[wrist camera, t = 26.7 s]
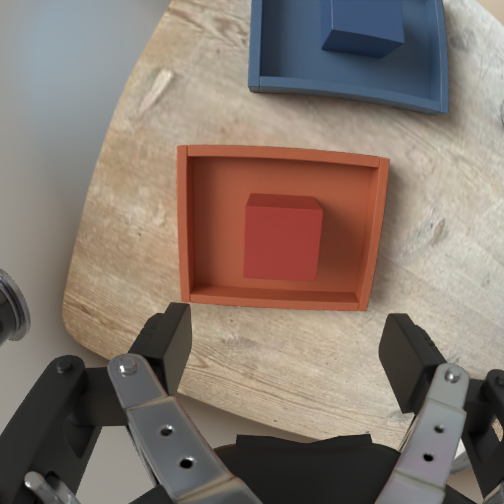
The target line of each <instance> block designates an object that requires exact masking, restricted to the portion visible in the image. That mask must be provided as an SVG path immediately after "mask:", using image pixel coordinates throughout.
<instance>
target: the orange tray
mask: <svg viewBox="0 0 504 504" xmlns="http://www.w3.org/2000/svg"><path fill="white" fill-rule="evenodd" d="M389 161H390V159H388V158H383V157H378V156H371V155H363V154H354V153H345V152H336V151H325V150H314V149H301V148H286V147H268V146H242V145H182V146H177V220H178V249H179V270H180V287H181V301H182V302H191V303H203V304H216V305H230V306H246V307H263V308H282V309H305V310H336V311H367V306H368V302H369V297H370V292H371V287H372V282H373V277H374V272H375V266H376V261H377V255H378V249H379V243H380V236H381V230H382V223H383V216H384V208H385V200H386V191H387V182H388V172H389ZM250 193H258V194H278V195H296V196H311V197H314V198H315V200H316V201H317V202H318V204H319V205H320V207H321V208H322V209H323V222H322V232H321V242H320V251H319V260H318V269H317V277H316V281H315V282H313V281H291V280H271V279H252V278H243V259H244V223H245V206H246V203H247V200H248V198H249V195H250Z"/></svg>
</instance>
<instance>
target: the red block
mask: <svg viewBox="0 0 504 504" xmlns="http://www.w3.org/2000/svg"><path fill="white" fill-rule="evenodd" d="M322 222H323V209H322V208H321V207H320V205H319V204H318V202H317V201H316V200H315V198H314V197H311V196H296V195H278V194H258V193H250V195H249V198H248V200H247V203H246V206H245V223H244V259H243V278H252V279H271V280H291V281H313V282H315V281H316V277H317V269H318V260H319V251H320V242H321V232H322Z"/></svg>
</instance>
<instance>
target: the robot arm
mask: <svg viewBox="0 0 504 504" xmlns="http://www.w3.org/2000/svg"><path fill="white" fill-rule="evenodd" d="M19 327H20V318H19V313H18V310H17V307H16V305H15V302H14V300H13V299H12V297H11V295H10V294H9V292H8V291H7V290H6V288H5V287H4V286H3V285H2V284H1V283H0V347H1V346H2V345H3V343H5V342H6V341H7V340H8V339H9V338H10V337H11V336H13V335H14V334H15V333H16V332H17V331H18V330H19ZM191 347H192V325H191V308H190V304H186V303H175V302H171V303H170V304H169V306H168V308H167V309H166V311H165V313H164V314H163V313H157V314H155V315H154V316H152V317H151V318H149V319H148V320H147V322H146V324H145V325H144V328H143V329H142V330H141V332H140V334H139V335H138V337H137V338H136V340H135V342H134V343H133V345H132V346H131V348H130V350H129V351H128V353H127V354H122V355H119V356H116V357H115V358H113V359H112V360H111V361H110V362H109V364H108V366H107V367H102V368H85V365H84V362H83V360H82V359H81V358H79V357H77V356H72V355H65V356H61V357H58V358H56V359H54V360H53V361H52V362H51V363H50V364H49V365H48V366H47V368H46V369H45V370H44V372H43V373H42V375H41V376H40V377H39V379H38V380H37V382H36V383H35V384H34V386H33V387H32V389H31V390H30V392H29V393H28V394H27V396H26V397H25V399H24V400H23V402H22V403H21V405H20V406H19V408H18V409H17V411H16V412H15V414H14V415H13V417H12V419H11V420H10V421H9V423H8V424H7V426H6V428H5V429H4V431H3V432H2V434H1V436H0V504H81V503H80V502H79V500H78V499H77V498H76V497H75V495H76V493H77V490H78V487H79V485H80V482H81V479H82V477H83V474H84V471H85V469H86V466H87V464H88V461H89V459H90V456H91V454H92V451H93V449H94V446H95V444H96V441H97V439H98V437H99V434H100V432H101V429H102V427H103V426H125V427H126V430H127V432H128V434H129V436H130V439H131V440H132V443H133V445H134V447H135V449H136V451H137V453H138V455H139V457H140V459H141V461H142V463H143V465H144V468H145V470H146V472H147V474H148V476H149V478H150V480H151V482H152V484H153V486H154V488H153V489H151V490H150V491H148V492H146V493H145V494H143V495H142V496H140V497H139V498H137V499H136V500H134V501H132V502H131V503H129V504H477V503H475V502H474V501H472V500H470V499H469V498H467V497H465V496H464V495H463V494H461V493H459V492H458V491H456V490H455V489H453V488H452V487H450V486H449V485H447V484H446V482H447V479H448V477H449V474H450V471H451V468H452V465H453V462H454V459H455V456H456V452H457V449H458V446H459V442H460V439H461V440H462V443H463V445H464V447H465V450H466V452H467V455H468V458H469V460H470V463H471V465H472V468H473V470H474V473H475V476H476V478H477V481H478V484H479V487H480V490H481V493H482V496H483V499H484V501H483V504H504V371H503V370H499V369H494V370H490V371H489V372H488V374H487V376H486V378H485V380H478V379H470V378H469V375H468V373H467V372H466V370H464V369H463V368H462V367H460V366H458V365H456V364H451V363H447V362H446V360H445V359H444V357H443V356H442V354H441V353H440V351H439V350H438V348H437V347H436V346H435V344H434V343H433V341H432V340H431V338H430V337H429V335H428V334H427V333H426V331H425V330H423V329H422V328H421V327H419V326H418V325H415V324H414V323H413V322H412V320H411V319H410V317H409V316H408V315H407V314H406V313H390V314H389V315H388V316H387V319H386V323H385V326H384V330H383V334H382V337H381V341H380V344H379V359H380V361H381V364H382V366H383V368H384V370H385V373H386V375H387V377H388V380H389V382H390V385H391V387H392V389H393V392H394V394H395V397H396V399H397V401H398V404H399V406H400V409H401V411H402V414H403V413H411V412H414V414H415V416H414V417H413V419H412V421H411V423H410V426H409V428H408V430H407V432H406V434H405V436H404V438H403V440H402V442H401V444H400V446H399V448H398V450H395V449H393V448H391V447H388V446H385V445H381V444H376V443H372V439H371V435H370V434H362V435H348V436H337V437H334V438H330V439H325V440H321V441H317V442H313V443H307V444H306V443H299V442H294V441H290V440H285V439H280V438H276V437H271V436H252V435H238V434H237V438H236V439H237V440H236V444H229V445H225V446H221V447H217V448H214V449H212V448H211V447H210V445H209V444H208V443H207V441H206V440H205V439H204V437H203V436H202V434H201V433H200V432H199V430H198V429H197V427H196V426H195V425H194V423H193V422H192V420H191V419H190V418H189V416H188V415H187V413H186V412H185V410H184V409H183V407H182V406H181V404H180V403H179V401H178V400H177V398H176V397H175V395H176V392H177V389H178V386H179V383H180V380H181V377H182V375H183V372H184V369H185V366H186V363H187V360H188V357H189V354H190V352H191ZM496 419H498V420H499V422H500V424H501V426H502V428H503V438H502V440H501V442H500V441H499V439H498V437H497V435H496V433H495V431H494V429H493V427H492V425H493V423H494V422H495V420H496Z"/></svg>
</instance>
